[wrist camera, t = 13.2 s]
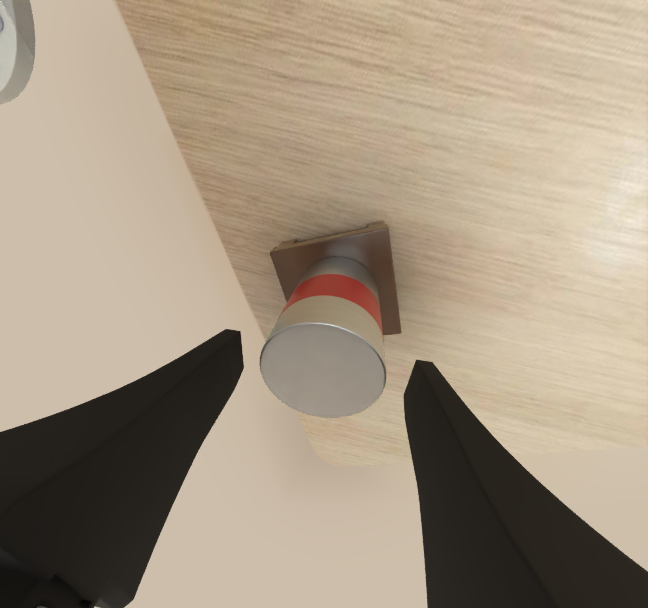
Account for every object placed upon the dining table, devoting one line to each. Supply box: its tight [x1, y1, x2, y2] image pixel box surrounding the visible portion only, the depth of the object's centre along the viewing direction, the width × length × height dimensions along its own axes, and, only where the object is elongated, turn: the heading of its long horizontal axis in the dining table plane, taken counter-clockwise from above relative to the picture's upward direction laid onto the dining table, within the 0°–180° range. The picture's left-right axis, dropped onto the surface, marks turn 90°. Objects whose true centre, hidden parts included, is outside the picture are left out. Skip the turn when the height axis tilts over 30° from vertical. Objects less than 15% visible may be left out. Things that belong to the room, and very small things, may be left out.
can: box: [260, 257, 386, 418], centre depth 13 cm, size 5×5×7 cm
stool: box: [270, 221, 401, 335], centre depth 17 cm, size 7×7×2 cm
